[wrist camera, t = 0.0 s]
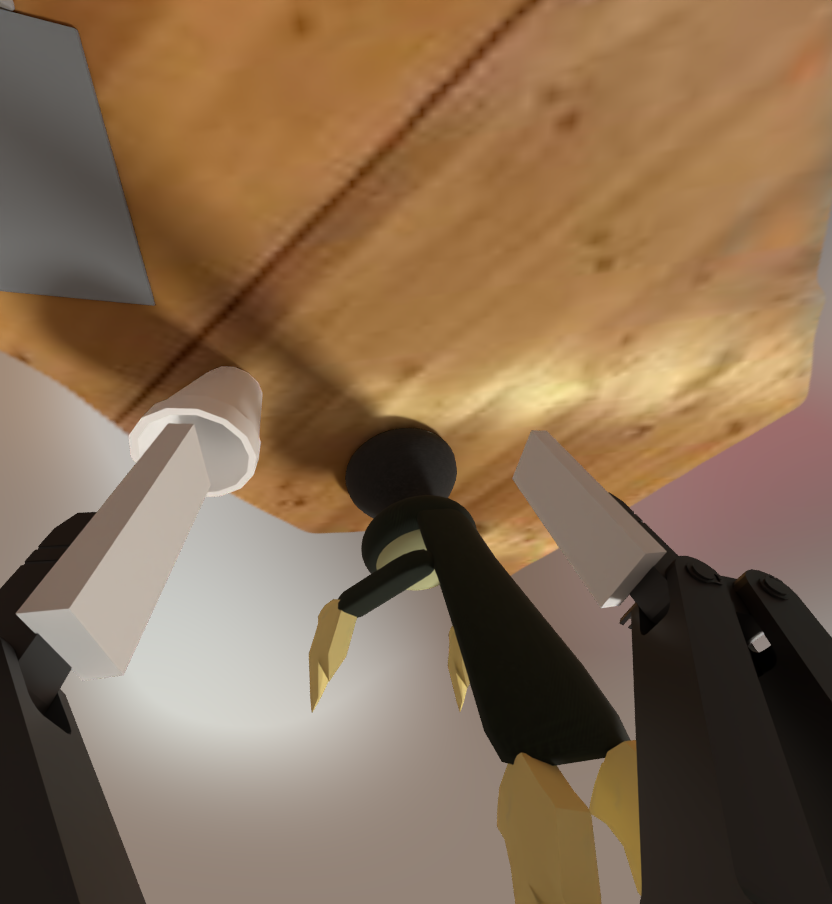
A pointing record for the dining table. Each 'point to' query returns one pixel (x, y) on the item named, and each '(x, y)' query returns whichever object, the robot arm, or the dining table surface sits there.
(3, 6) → the coffee box
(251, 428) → the foam cup
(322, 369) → the dining table surface
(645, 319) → the dining table surface
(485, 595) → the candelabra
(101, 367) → the dining table surface
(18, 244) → the mat
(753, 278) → the dining table surface
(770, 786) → the robot arm
